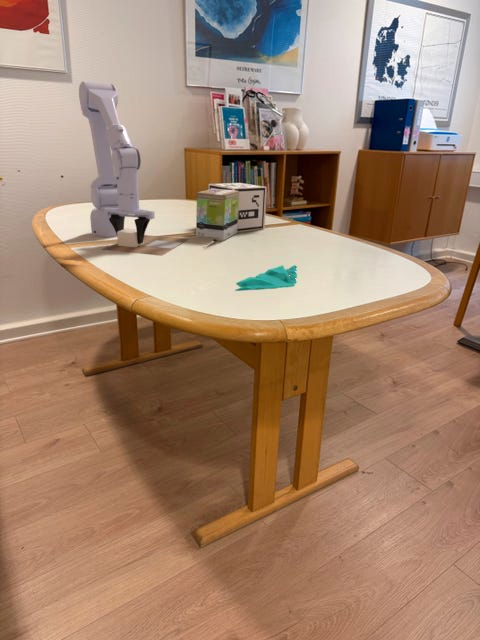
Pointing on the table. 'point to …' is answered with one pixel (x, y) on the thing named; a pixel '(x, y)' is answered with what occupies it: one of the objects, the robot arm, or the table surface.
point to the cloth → (270, 279)
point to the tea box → (217, 213)
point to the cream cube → (128, 238)
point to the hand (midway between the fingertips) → (130, 242)
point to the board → (151, 245)
